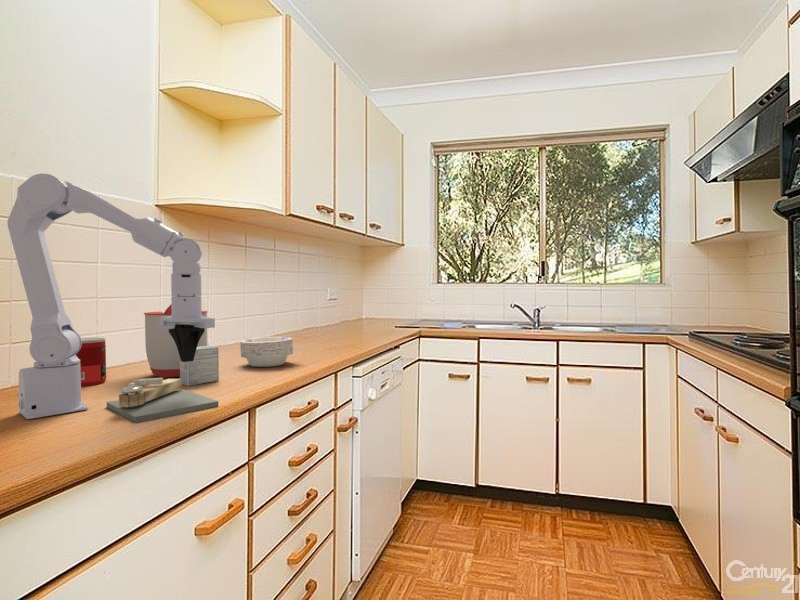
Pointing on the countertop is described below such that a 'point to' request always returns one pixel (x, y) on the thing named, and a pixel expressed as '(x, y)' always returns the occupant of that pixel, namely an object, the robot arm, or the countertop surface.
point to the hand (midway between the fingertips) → (187, 361)
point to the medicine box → (201, 367)
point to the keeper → (148, 381)
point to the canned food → (92, 361)
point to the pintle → (131, 390)
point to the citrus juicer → (164, 345)
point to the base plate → (164, 406)
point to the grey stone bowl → (266, 351)
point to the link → (149, 393)
